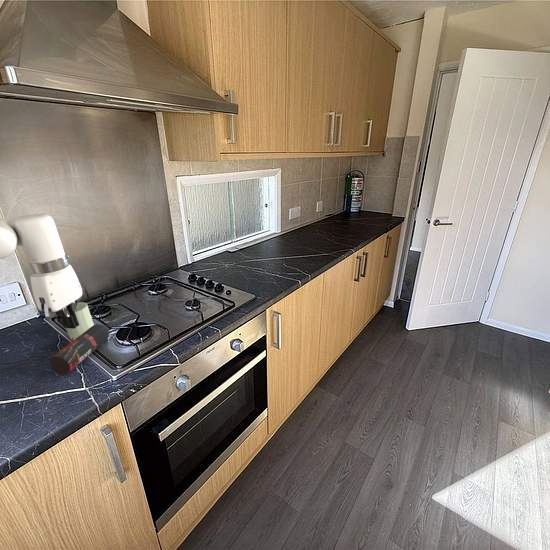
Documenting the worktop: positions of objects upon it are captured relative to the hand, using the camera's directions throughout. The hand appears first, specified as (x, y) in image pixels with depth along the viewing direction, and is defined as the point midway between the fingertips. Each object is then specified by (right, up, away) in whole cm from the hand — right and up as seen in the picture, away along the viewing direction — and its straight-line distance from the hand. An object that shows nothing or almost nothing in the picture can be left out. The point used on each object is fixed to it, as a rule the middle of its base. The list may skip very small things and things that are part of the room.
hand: (72, 326), depth 81 cm
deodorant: (-1, -10, -3) cm, 10 cm away
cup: (-8, -5, +16) cm, 18 cm away
